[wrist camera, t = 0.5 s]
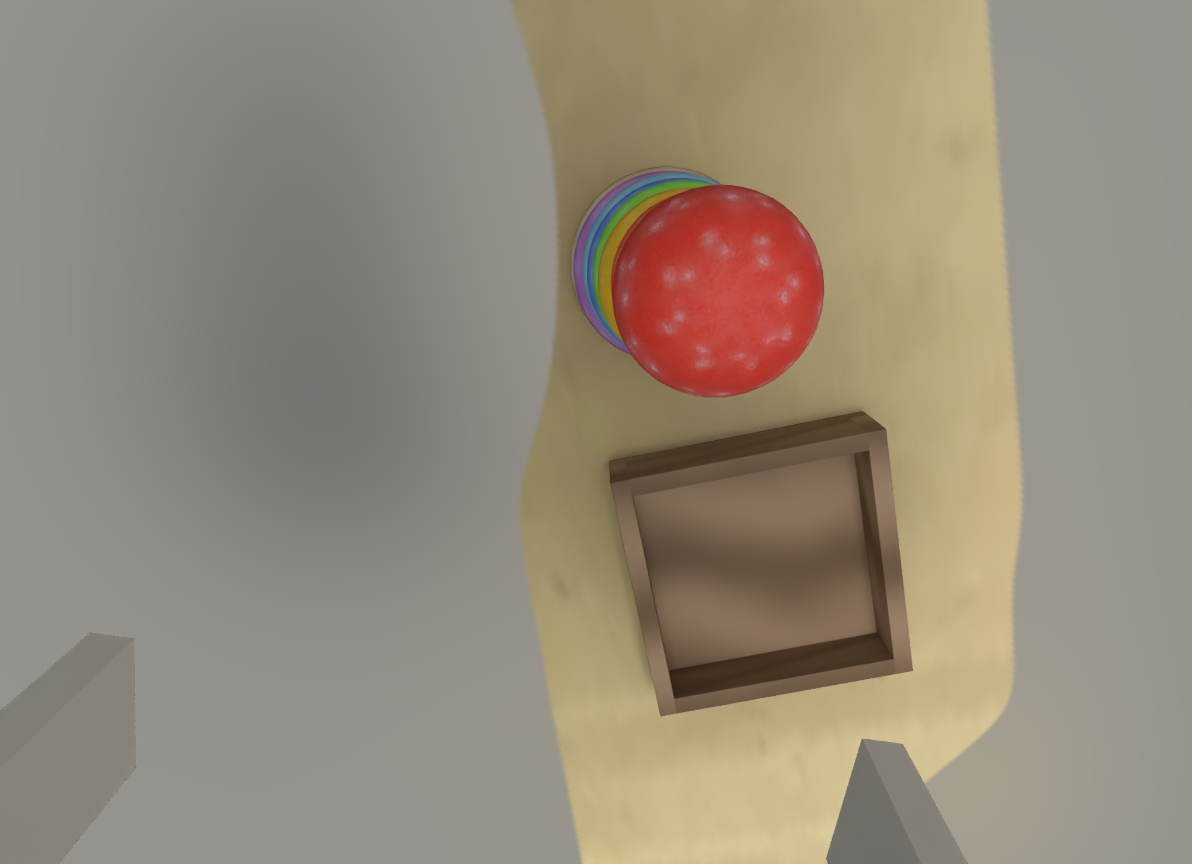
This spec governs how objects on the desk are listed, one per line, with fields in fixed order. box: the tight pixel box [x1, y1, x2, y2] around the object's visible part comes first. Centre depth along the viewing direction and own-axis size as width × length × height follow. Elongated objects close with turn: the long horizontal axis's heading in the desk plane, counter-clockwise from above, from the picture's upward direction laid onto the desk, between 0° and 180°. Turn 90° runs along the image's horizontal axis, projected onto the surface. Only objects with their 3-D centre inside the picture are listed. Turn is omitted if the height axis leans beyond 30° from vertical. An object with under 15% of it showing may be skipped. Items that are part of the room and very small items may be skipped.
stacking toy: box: [571, 167, 824, 397], centre depth 26 cm, size 8×8×19 cm
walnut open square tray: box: [609, 412, 913, 716], centre depth 38 cm, size 12×12×3 cm
